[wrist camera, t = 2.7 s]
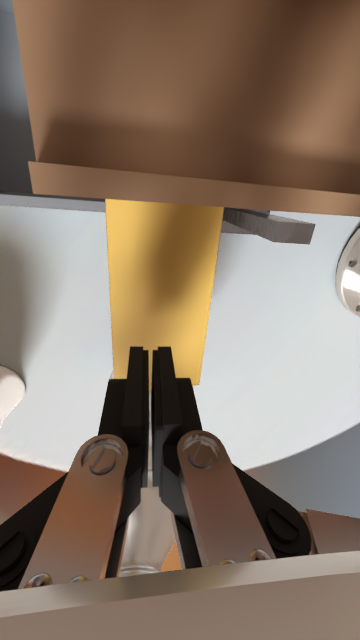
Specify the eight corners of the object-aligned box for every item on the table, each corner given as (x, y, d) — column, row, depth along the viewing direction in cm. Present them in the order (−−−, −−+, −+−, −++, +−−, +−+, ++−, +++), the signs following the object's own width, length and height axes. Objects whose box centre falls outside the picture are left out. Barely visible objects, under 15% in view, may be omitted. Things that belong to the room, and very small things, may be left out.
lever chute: (401, 57, 16) (559, -9, 11) (310, 325, 25) (371, 365, 19) (24, -61, 10) (-61, -346, 5) (74, 343, 19) (66, 409, 13)
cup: (138, 25, 17) (119, -243, 6) (137, 208, 22) (126, 226, 11) (-48, -5, 16) (-462, -412, 5) (-4, 197, 21) (-165, 207, 10)
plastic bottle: (142, 336, 28) (130, 593, 10) (180, 373, 31) (222, 624, 13) (99, 368, 29) (21, 645, 11) (139, 400, 32) (126, 664, 14)
